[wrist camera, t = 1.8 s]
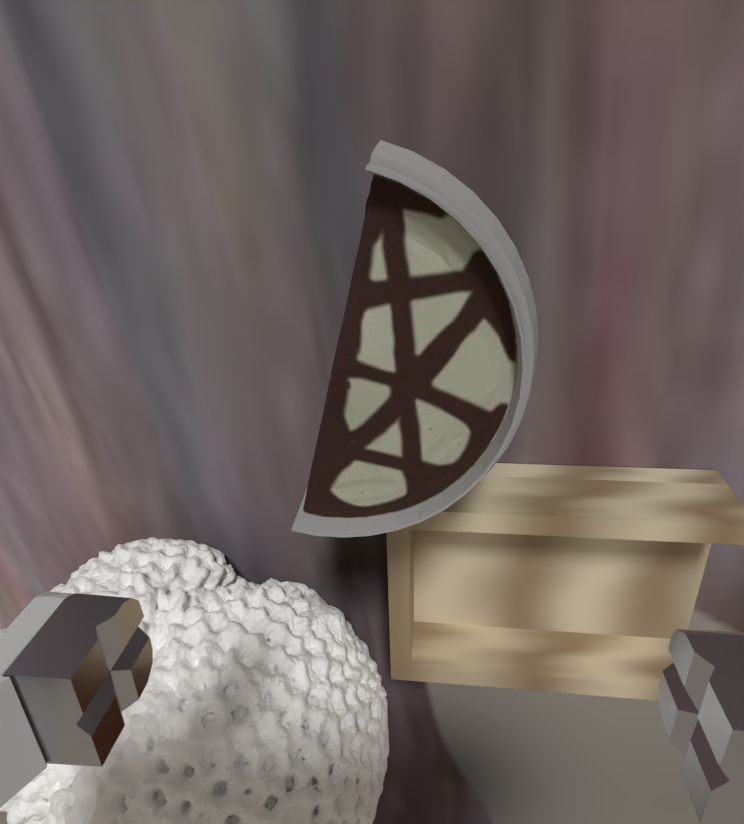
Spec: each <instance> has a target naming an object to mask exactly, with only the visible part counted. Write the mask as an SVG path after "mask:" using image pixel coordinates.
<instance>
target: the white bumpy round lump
mask: <svg viewBox="0 0 744 824" xmlns="http://www.w3.org/2000/svg"><path fill="white" fill-rule="evenodd" d="M50 592H59V593H71V594H75V593H78V594H90V595H102V596H114V597H125V598H133V599H136V600H139V602H140V605H141V608H142V611H143V615H144V617H143V619H142V621H141V622H140V624H139V625H138V627H139V628H140V629H141V630H143V631H144V632H145V633H146V634H147V635H148V636H149V637H150V641H151V645H152V649H153V663H152V667H151V671H150V675H149V679H148V683H147V685H146V687H145V689H144V690H143V692H142V694H141V696H140V698H139V699H138V700H137V701H136V702H134V703H133V704H132V705H130V706H129V707H128V708H126V709H125V710H124V711H123V717H124V723H125V726H124V728H123V730H122V731H121V733H120V735H119V737H118V739H117V741H116V742H115V744H114V746H113V748H112V750H111V752H110V753H109V755H108V757H107V759H106V761H105V762H104V764H103V766H102V767H96V766H80V765H64V764H47V768H46V769H45V770H44V771H42V772H41V773H40V774H39V775H38V776H37V777H35V778H34V779H33V780H32V781H31V782H30V783H28V784H27V785H26V786H25V787H24V788H23V789H22V790H20V791H19V792H18V793H17V794H16V795H15V796H13V797H12V798H11V799H10V800H9V801H8V802H7V803H5V804H4V805H3V806H2V807H1V808H0V812H1V811H5V812H7V813H8V814H7V822H8V824H373V821H374V819H375V814H376V809H377V804H378V801H379V797H380V794H381V793H382V791H383V782H384V778H385V777H384V776H385V773H386V771H387V766H388V765H387V757H388V755H389V744H388V743H389V738H388V736H389V731H388V725H387V724H388V715H387V714H388V712H387V708H388V706H387V705H388V702H387V699H386V695H387V694H386V692H385V689H384V687H383V686H381V676H380V675H379V673H378V670H377V663H376V662H375V661H373V660H372V659H371V657H370V654H369V650H368V646H367V645H366V643H364V642H363V641H362V640H360V639H359V638H358V636H355V633H354V630H353V629H352V625H351V624H350V623H348V621H345V616H344V614H343V613H342V612H341V611H340V610H339V609H337V608H336V607H333V606H331V605H328V604H327V603H326V601H324V600H323V599H322V598H321V597H320V596H319V595H318V594H317V593H316V592H315V590H312V589H309V588H308V587H307V586H306V585H304V584H301V583H297V582H288V581H285V582H279V581H278V580H276V579H273V578H270V579H269V580H267V582H265V583H263V584H261V585H259V584H254V583H253V582H248V581H246V580H245V579H244V578H241V576H237V575H236V573H235V572H234V569H233V568H232V565H230V564H227V563H226V560H225V557H224V554H223V553H221V552H220V551H219V550H218V549H214V548H212V547H209V546H207V545H205V544H197V543H196V542H194V541H193V540H186V541H185V540H183V539H180V540H174V539H171V538H170V539H168V540H167V539H163V538H162V539H156V538H155V537H150V538H148V539H141V540H137V541H136V540H135V541H132V542H128V543H126V544H124V545H121V544H118V545H117V546H115V548H114V551H112V552H111V553H110V552H106V551H101V552H99V557H97V558H95V557H93V558H91V559H89V560H88V562H87V563H86V564H83V565H82V566H80V567H79V570H77V571H75V572H73V573H72V574H71V578H70V579H69V580H68V583H67V584H66V585H63V584H59V585H58V586H56V587H54V588H53V589H52V590H51V591H50ZM5 630H6V629H3V630H0V636H1V635H2V634H3V632H4V631H5Z"/></svg>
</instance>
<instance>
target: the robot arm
mask: <svg viewBox="0 0 744 824" xmlns="http://www.w3.org/2000/svg"><path fill="white" fill-rule="evenodd" d="M143 617H144V615H143V611H142V608H141V605H140V602H139V600H136V599H133V598H125V597H114V596H102V595H90V594H78V593H75V594H71V593H59V592H48V591H46V592H44V593H42V594H40V595H38V596H36V597H35V598H34V599H33V600H32V601H31V602H30V603H29V605H28V606H27V607H26V608H25V609H24V610H23V611H22V612H21V613H20V615H19V616H18V617H17V618H16V619H15V620H14V621H13V622H12V624H11V625H10V626H9V627H8V628H7V629H6V630H5V631H4V632H3V634H2V635H1V636H0V808H1V807H2V806H3V805H4V804H5V803H7V802H8V801H9V800H10V799H11V798H12V797H13V796H15V795H16V794H17V793H18V792H19V791H20V790H22V789H23V788H24V787H25V786H26V785H27V784H28V783H30V782H31V781H32V780H33V779H34V778H35V777H37V776H38V775H39V774H40V773H41V772H42V771H44V770H45V769H46V768H47V764H64V765H80V766H96V767H102V766H103V764H104V762H105V761H106V759H107V757H108V755H109V753H110V752H111V750H112V748H113V746H114V744H115V742H116V741H117V739H118V737H119V735H120V733H121V731H122V730H123V728H124V726H125V723H124V717H123V711H124V710H125V709H126V708H128V707H129V706H130V705H132V704H133V703H134V702H136V701H137V700H138V699H139V698H140V696H141V694H142V692H143V690H144V689H145V687H146V685H147V683H148V679H149V675H150V671H151V667H152V663H153V649H152V645H151V641H150V637H149V636H148V635H147V634H146V633H145V632H144V631H143V630H141V629H140V628H139V627H138V625H139V624H140V622H141V621H142V619H143ZM668 650H669V652H670V655H671V657H672V659H673V662H674V663H672V664H671V665H670V666H668V667H667V668H666V669H664V670H663V671H662V675H661V680H660V685H659V703H660V711H661V716H662V720H663V724H664V727H665V730H666V733H667V736H668V738H669V741H670V742H671V743H672V744H673V745H674V746H676V748H677V749H679V750H680V751H681V752H682V753H683V754H684V755H685V756H686V757H685V761H684V764H683V768H682V771H681V774H682V776H683V779H684V781H685V784H686V786H687V789H688V792H689V795H690V797H691V800H692V802H693V805H694V808H695V810H696V813H697V816H698V818H699V821H700V823H702V824H744V632H725V631H704V630H702V631H701V630H684V629H677V630H676V631H675V632H674V633H673V635H672V636H671V639H670V643H669V647H668Z"/></svg>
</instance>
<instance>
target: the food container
mask: <svg viewBox="0 0 744 824" xmlns="http://www.w3.org/2000/svg"><path fill="white" fill-rule="evenodd" d="M365 169H366V170H368V171H370V172H372V173H374V177H373V180H372V183H371V188H370V193H369V196H368V199H367V202H366V209H365V219H364V224H363V230H362V235H361V239H360V244H359V249H358V253H357V258H356V262H355V267H354V271H353V276H352V280H351V285H350V290H349V295H348V300H347V304H346V309H345V314H344V318H343V323H342V327H341V332H340V336H339V341H338V345H337V349H336V354H335V358H334V363H333V367H332V372H331V377H330V382H329V387H328V392H327V397H326V402H325V408H324V412H323V417H322V421H321V426H320V430H319V435H318V439H317V444H316V449H315V454H314V458H313V463H312V468H311V473H310V477H309V482H308V487H307V490H306V492H305V495H304V498H303V500H302V503H301V506H300V508H299V511H298V514H297V516H296V519H295V521H294V524H293V527H292V530H291V531H294V532H300V533H305V534H310V535H315V536H327V537H342V538H344V537H361V536H372V535H377V534H382V533H387V532H392V531H397V530H400V529H403V528H405V527H408V526H411V525H414V524H417V523H420V522H422V521H424V520H426V519H428V518H430V517H432V516H434V515H436V514H438V513H440V512H442V511H443V510H445V509H447V508H448V507H449V506H451V505H452V504H453V503H455V502H456V501H458V500H459V499H460V498H462V497H463V496H464V495H466V494H467V493H468V492H469V491H470V490H471V489H472V488H473V487H474V486H475V485H476V484H477V483H478V482H479V481H480V480H481V479H482V478H483V477H484V476H485V475H486V474H487V473H488V472H489V471H490V470H491V469H492V468H493V467H494V465H495V464H496V463H497V461H498V460H499V458H500V457H501V456H502V454H503V453H504V452H505V450H506V449H507V447H508V446H509V444H510V442H511V440H512V438H513V436H514V434H515V432H516V430H517V428H518V426H519V424H520V422H521V420H522V417H523V414H524V410H525V407H526V404H527V401H528V397H529V394H530V390H531V386H532V382H533V379H534V375H535V368H536V359H537V350H538V327H537V311H536V306H535V302H534V298H533V293H532V289H531V285H530V280H529V278H528V275H527V273H526V270H525V268H524V266H523V263H522V261H521V258H520V256H519V254H518V251H517V249H516V247H515V245H514V244H513V242H512V241H511V239H510V238H509V236H508V234H507V233H506V231H505V230H504V228H503V227H502V225H501V223H500V222H499V220H498V219H497V217H496V216H495V215H494V214H493V213H492V212H491V211H490V210H489V209H488V208H487V206H486V205H485V204H484V203H483V202H482V201H481V200H480V199H479V198H478V196H477V195H476V194H475V193H474V192H473V191H472V190H470V189H469V188H468V187H467V186H465V185H464V184H463V183H462V182H460V181H459V180H458V179H457V178H455V177H454V176H453V175H452V174H450V173H449V172H448V171H446V170H445V169H444V168H442V167H440V166H438V165H436V164H435V163H433V162H431V161H429V160H427V159H425V158H424V157H422V156H420V155H418V154H416V153H414V152H413V151H410V150H407V149H404V148H402V147H399V146H396V145H393V144H390V143H387V142H384V141H382V140H380V142H379V143H378V145H377V146H376V148H375V149H374V151H373V152H372V155H371V160H370V163H369V164H368V165H366V168H365Z"/></svg>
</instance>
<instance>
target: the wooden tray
mask: <svg viewBox="0 0 744 824" xmlns="http://www.w3.org/2000/svg"><path fill="white" fill-rule="evenodd" d="M386 534H387V566H388V598H389V630H390V661H391V679H396V680H408V681H420V682H433V683H445V684H457V685H470V686H482V687H495V688H508V689H519V690H532V691H544V692H556V693H568V694H581V695H593V696H605V697H617V698H630V699H643V700H655V701H659V685H660V680H661V675H662V671H663V670H664V669H666V668H667V667H668V666H670V665H671V664H672V663H674V662H673V659H672V657H671V655H670V652H669V650H668V647H669V643H670V639H671V636H672V635H673V633H674V632H675V631H676V630H677V629H684V630H688V628H689V624H690V620H691V617H692V613H693V610H694V606H695V602H696V599H697V595H698V591H699V588H700V584H701V580H702V577H703V573H704V569H705V566H706V562H707V558H708V555H709V551H710V547H711V544H729V545H744V505H743V504H742V502H741V501H740V500H739V499H738V497H737V496H736V495H735V493H734V492H733V491H732V489H731V488H730V487H729V486H728V484H727V483H726V482H725V480H724V479H723V478H722V477H721V475H720V474H719V473H718V471H717V470H691V469H661V468H630V467H599V466H568V465H538V464H507V463H496V464H495V465H494V467H493V468H492V469H491V470H490V471H489V472H488V473H487V474H486V475H485V476H484V477H483V478H482V479H481V480H480V481H479V482H478V483H477V484H476V485H475V486H474V487H473V488H472V489H471V490H470V491H469V492H468V493H467V494H466V495H464V496H463V497H462V498H460V499H459V500H458V501H456V502H455V503H453V504H452V505H451V506H449V507H448V508H447V509H445V510H443V511H442V512H440V513H438V514H436V515H434V516H432V517H430V518H428V519H426V520H424V521H422V522H420V523H417V524H414V525H411V526H408V527H405V528H403V529H400V530H397V531H392V532H387V533H386Z"/></svg>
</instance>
